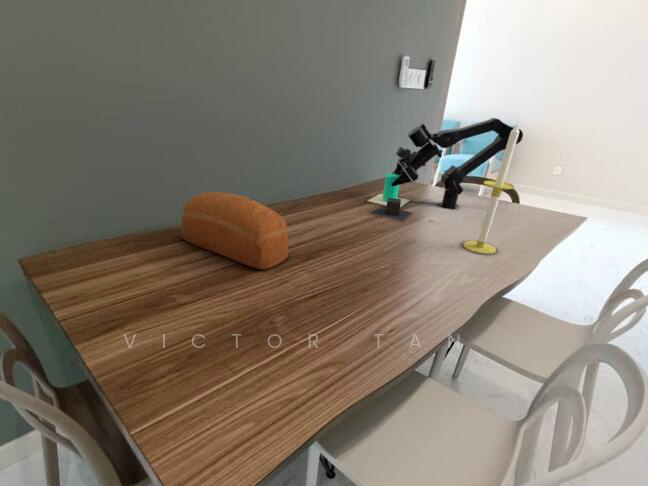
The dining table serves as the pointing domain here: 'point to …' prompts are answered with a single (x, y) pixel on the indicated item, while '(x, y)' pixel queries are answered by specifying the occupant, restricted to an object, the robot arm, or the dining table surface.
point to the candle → (390, 187)
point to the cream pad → (379, 200)
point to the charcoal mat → (400, 217)
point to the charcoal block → (393, 206)
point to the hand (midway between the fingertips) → (390, 182)
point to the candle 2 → (494, 198)
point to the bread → (236, 229)
